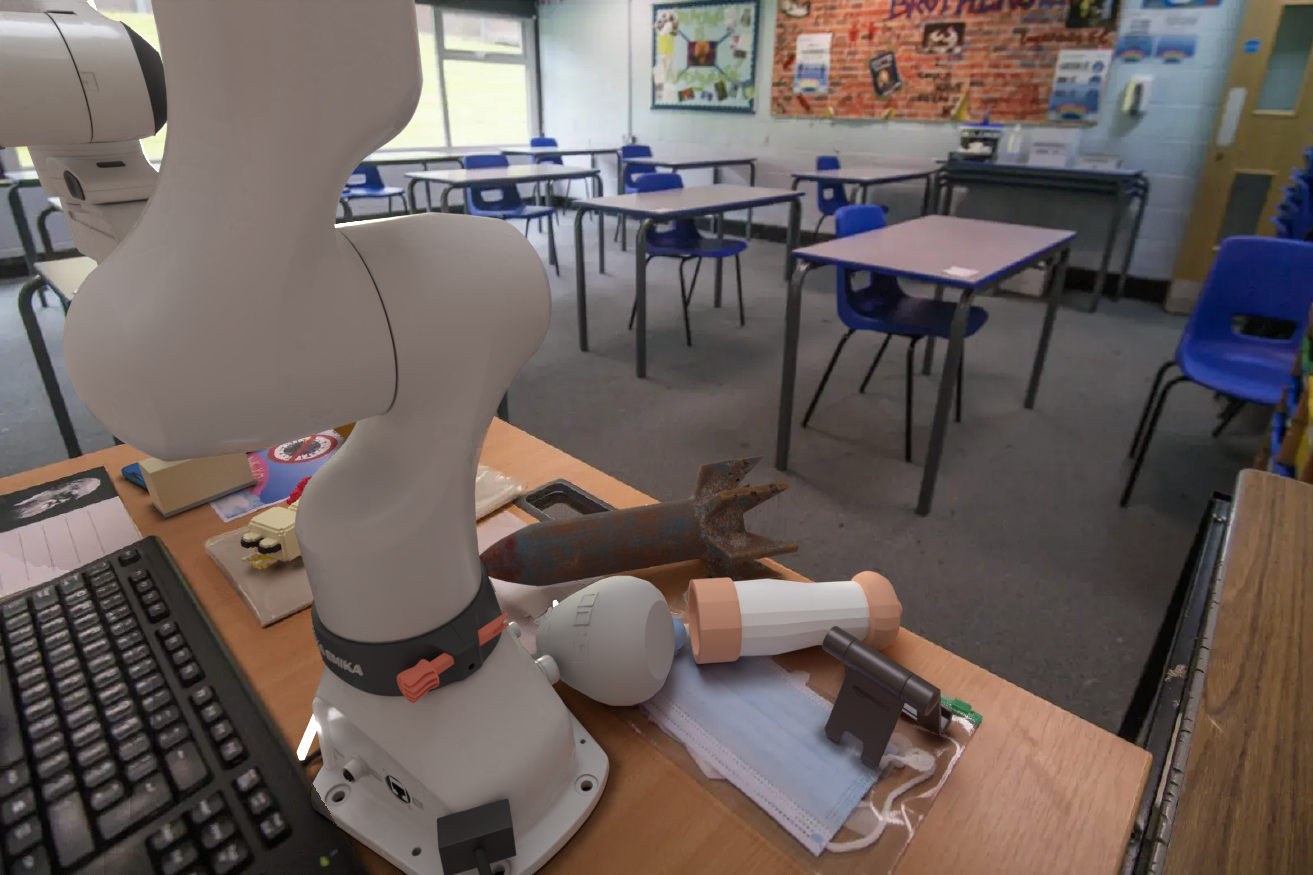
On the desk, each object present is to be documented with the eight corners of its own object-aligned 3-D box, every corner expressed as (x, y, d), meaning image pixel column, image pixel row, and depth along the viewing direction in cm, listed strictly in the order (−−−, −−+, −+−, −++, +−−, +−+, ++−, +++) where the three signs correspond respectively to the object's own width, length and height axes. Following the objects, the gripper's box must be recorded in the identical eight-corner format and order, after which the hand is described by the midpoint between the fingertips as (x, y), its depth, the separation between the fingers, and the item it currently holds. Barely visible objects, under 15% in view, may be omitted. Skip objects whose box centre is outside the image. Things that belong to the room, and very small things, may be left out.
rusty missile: (489, 635, 70) (767, 581, 77) (482, 624, 58) (809, 563, 65) (475, 516, 73) (741, 475, 80) (465, 485, 62) (776, 440, 69)
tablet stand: (951, 730, 56) (975, 653, 52) (901, 790, 51) (923, 710, 47) (856, 668, 62) (871, 595, 58) (802, 718, 57) (815, 641, 53)
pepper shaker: (702, 624, 57) (926, 610, 59) (689, 561, 63) (893, 551, 65) (697, 681, 61) (907, 667, 63) (685, 618, 67) (877, 606, 69)
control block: (256, 483, 88) (243, 441, 85) (165, 518, 81) (149, 473, 78) (242, 473, 90) (229, 431, 87) (153, 505, 83) (136, 461, 80)
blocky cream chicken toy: (389, 467, 94) (217, 558, 73) (381, 406, 91) (199, 484, 69) (449, 483, 91) (287, 584, 69) (444, 420, 87) (272, 507, 66)
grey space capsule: (626, 701, 50) (488, 695, 54) (680, 713, 58) (557, 707, 63) (638, 559, 54) (509, 565, 59) (686, 590, 63) (570, 592, 67)
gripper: (25, 163, 71) (75, 296, 78) (89, 186, 60) (141, 339, 66) (99, 159, 75) (140, 284, 82) (171, 179, 64) (212, 323, 71)
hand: (141, 309), depth 74 cm, fingers open, 8 cm apart
